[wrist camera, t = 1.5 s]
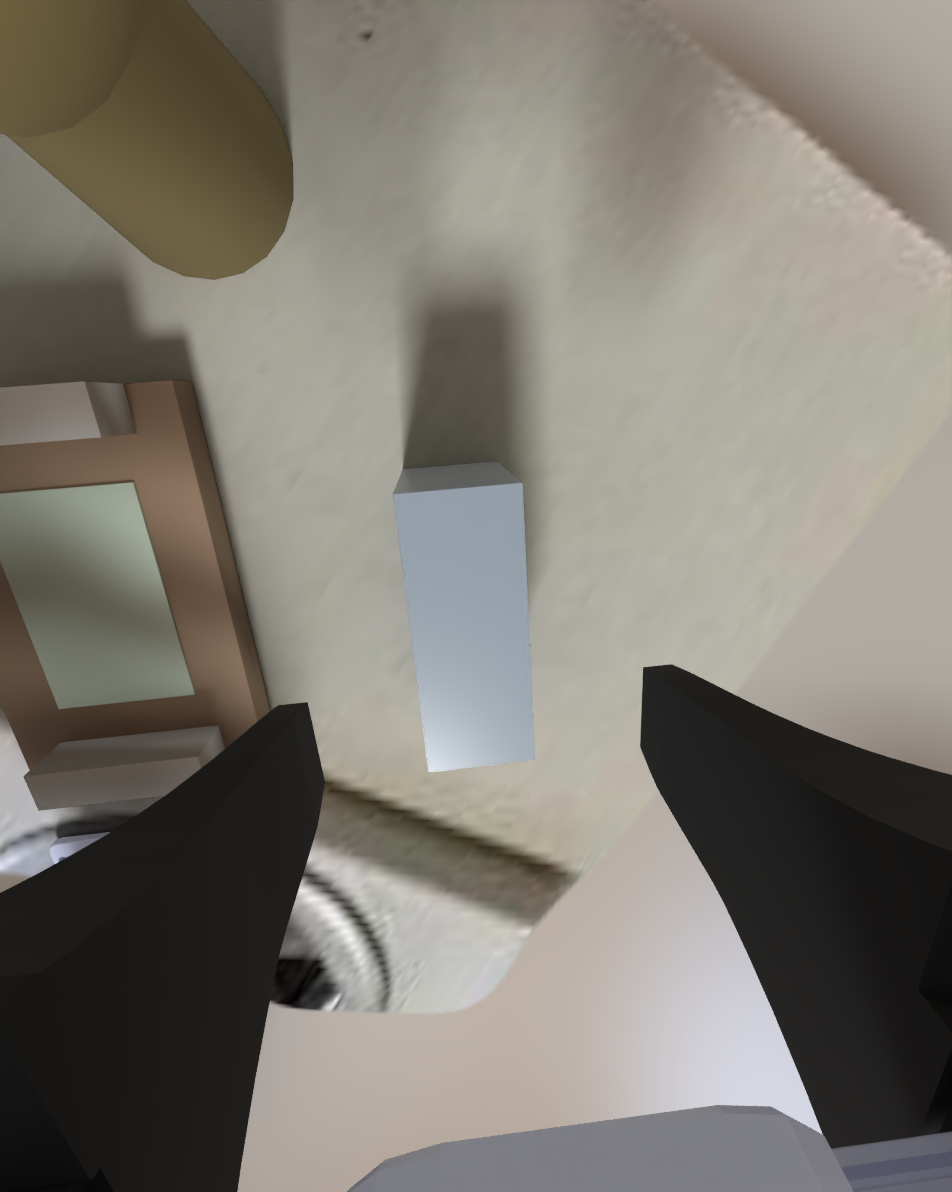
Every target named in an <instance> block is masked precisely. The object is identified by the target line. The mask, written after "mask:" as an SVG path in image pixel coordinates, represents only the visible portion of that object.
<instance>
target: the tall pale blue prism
mask: <svg viewBox="0 0 952 1192" xmlns="http://www.w3.org/2000/svg"><path fill="white" fill-rule="evenodd" d="M393 498H394V506H395V514H396V522H397V530H398V538H399V545H400V553H401V561H402V569H403V577H404V584H405V592H406V600H407V608H408V616H409V624H410V631H411V639H412V647H413V655H414V663H415V670H416V678H417V686H418V694H419V702H420V710H421V717H422V725H423V733H424V741H425V749H426V757H427V764H428V772H436V771H445V770H453V769H462V768H470V767H479V766H487V765H496V764H504V763H513V762H522V761H530V760H535V746H534V723H533V701H532V679H531V657H530V635H529V613H528V590H527V568H526V546H525V524H524V502H523V483H522V482H521V481H520V480H519V479H517V478H516V477H515V476H514V475H513V474H511V473H510V472H509V471H508V470H507V469H505V468H504V467H503V466H502V465H500V464H499V463H498V462H497V461H493V462H481V463H470V464H458V465H447V466H435V467H424V468H412V469H403V470H402V473H401V475H400V478H399V480H398V483H397V485H396V488H395V490H394V493H393Z"/></svg>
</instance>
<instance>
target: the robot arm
mask: <svg viewBox="0 0 952 1192" xmlns="http://www.w3.org/2000/svg"><path fill="white" fill-rule="evenodd" d="M640 747H641V750H642V752H643V755H644V757H645V760H646V762H647V765H648V767H649V770H650V772H651V774H652V777H653V779H654V781H655V783H656V786H657V788H658V790H659V791H660V793H661V795H662V796H663V798H664V800H665V802H666V803H667V805H668V807H669V809H670V810H671V812H672V814H673V815H674V817H675V819H676V821H677V822H678V824H679V826H680V827H681V829H682V831H683V832H684V834H685V836H686V838H687V839H688V841H689V843H690V844H691V846H692V848H693V849H694V851H695V853H696V854H697V856H698V858H699V860H700V861H701V863H702V865H703V866H704V868H705V870H706V871H707V873H708V875H709V876H710V878H711V880H712V882H713V883H714V885H715V887H716V889H717V891H718V893H719V895H720V896H721V898H722V900H723V902H724V904H725V906H726V908H727V910H728V913H729V915H730V917H731V919H732V921H733V923H734V925H735V928H736V929H737V932H738V934H739V936H740V938H741V940H742V943H743V945H744V947H745V949H746V951H747V953H748V955H749V958H750V960H751V962H752V964H753V967H754V969H755V971H756V973H757V976H758V978H759V980H760V983H761V985H762V987H763V990H764V992H765V994H766V996H767V999H768V1001H769V1003H770V1005H771V1007H772V1010H773V1012H774V1015H775V1017H776V1019H777V1022H778V1024H779V1027H780V1029H781V1032H782V1034H783V1036H784V1039H785V1041H786V1044H787V1046H788V1048H789V1050H790V1053H791V1056H792V1058H793V1060H794V1063H795V1065H796V1068H797V1070H798V1072H799V1075H800V1077H801V1080H802V1082H803V1085H804V1087H805V1090H806V1092H807V1095H808V1097H809V1100H810V1103H811V1105H812V1107H813V1110H814V1113H815V1115H816V1118H817V1120H818V1123H819V1126H820V1128H821V1131H822V1133H823V1135H822V1134H820V1133H818V1132H817V1131H815V1130H813V1129H811V1128H809V1127H808V1126H806V1125H804V1124H802V1123H800V1122H798V1121H797V1120H794V1119H793V1118H791V1117H789V1116H787V1115H785V1114H783V1113H782V1112H780V1111H778V1110H776V1109H774V1108H772V1107H766V1106H726V1105H715V1106H708V1107H701V1108H693V1109H686V1110H679V1111H672V1112H664V1113H657V1114H650V1115H642V1116H636V1117H628V1118H621V1119H614V1120H606V1121H599V1122H591V1123H584V1124H577V1125H570V1126H563V1127H555V1128H548V1129H541V1130H534V1131H526V1132H519V1133H511V1134H504V1135H497V1136H490V1137H483V1138H475V1139H468V1140H461V1141H453V1142H446V1143H441V1144H437V1145H434V1146H430V1147H427V1148H423V1149H420V1150H417V1151H413V1152H410V1153H407V1154H403V1155H400V1156H397V1157H393V1158H390V1159H387V1160H385V1161H384V1162H383V1163H381V1164H380V1165H378V1166H377V1167H376V1168H375V1169H373V1170H372V1171H371V1172H370V1173H369V1174H367V1175H366V1176H365V1177H364V1178H362V1179H361V1180H360V1181H359V1182H357V1183H356V1184H355V1185H354V1186H353V1187H351V1188H350V1189H349V1190H348V1191H347V1192H952V775H950V774H946V773H942V772H938V771H934V770H931V769H927V768H924V767H920V766H917V765H914V764H910V763H906V762H903V761H900V760H896V759H893V758H889V757H886V756H883V755H880V754H877V753H874V752H871V751H868V750H864V749H862V748H859V747H856V746H853V745H850V744H848V743H845V742H842V741H840V740H837V739H834V738H831V737H828V736H826V735H823V734H821V733H818V732H815V731H813V730H810V729H808V728H805V727H803V726H801V725H799V724H796V723H794V722H792V721H789V720H787V719H785V718H782V717H780V716H778V715H775V714H773V713H771V712H769V711H767V710H765V709H763V708H760V707H758V706H756V705H754V704H752V703H750V702H748V701H746V700H744V699H742V698H740V697H738V696H736V695H734V694H732V693H730V692H728V691H726V690H724V689H722V688H720V687H718V686H716V685H714V684H712V683H710V682H708V681H706V680H704V679H702V678H700V677H698V676H696V675H694V674H692V673H690V672H688V671H686V670H683V669H681V668H679V667H676V666H674V665H662V666H652V667H643V689H642V715H641V742H640ZM324 783H325V780H324V776H323V771H322V767H321V762H320V758H319V753H318V748H317V744H316V739H315V735H314V730H313V725H312V721H311V716H310V712H309V707H308V703H307V702H306V703H296V704H287V705H278V706H277V707H275V708H274V709H273V710H271V711H270V712H269V713H267V714H266V715H265V716H264V717H262V718H261V719H260V720H259V721H258V722H256V723H255V724H254V725H253V726H252V727H250V728H249V729H248V730H247V731H246V732H245V733H243V734H242V735H241V736H240V737H239V738H237V739H236V740H235V741H234V742H233V743H231V744H230V745H229V746H228V747H227V748H225V749H224V750H223V751H222V752H221V753H219V754H218V755H217V756H216V757H215V758H213V759H212V760H211V761H210V762H209V763H207V764H206V765H205V766H203V767H202V768H201V769H199V770H198V771H197V772H195V773H194V774H193V775H192V776H190V777H189V778H188V779H186V780H185V781H184V782H182V783H181V784H180V785H179V786H177V787H176V788H175V789H173V790H172V791H171V792H169V793H168V794H167V795H165V796H164V797H163V798H161V799H160V800H158V801H157V802H156V803H154V804H153V805H151V806H150V807H148V808H147V809H145V810H144V811H142V812H141V813H139V814H138V815H136V816H135V817H133V818H132V819H130V820H129V821H127V822H126V823H124V824H122V825H121V826H119V827H118V828H116V829H115V830H113V831H112V832H105V833H97V834H88V835H80V836H72V837H63V838H59V839H57V840H56V841H55V842H54V843H53V844H52V845H51V847H50V849H49V851H50V855H51V857H52V859H53V861H54V864H55V865H53V866H51V867H49V868H48V869H46V870H44V871H42V872H40V873H38V874H36V875H35V876H33V877H31V878H29V879H27V880H25V881H23V882H21V883H19V884H17V885H15V886H13V887H11V888H9V889H7V890H5V891H3V892H1V893H0V1192H237V1190H238V1183H239V1176H240V1169H241V1162H242V1155H243V1149H244V1144H245V1137H246V1131H247V1125H248V1118H249V1112H250V1107H251V1100H252V1095H253V1089H254V1082H255V1077H256V1072H257V1066H258V1061H259V1055H260V1049H261V1044H262V1039H263V1033H264V1028H265V1023H266V1017H267V1012H268V1006H269V1002H270V997H271V992H272V987H273V983H274V978H275V973H276V968H277V963H278V958H279V954H280V950H281V946H282V943H283V939H284V935H285V931H286V928H287V925H288V921H289V918H290V915H291V912H292V908H293V905H294V902H295V899H296V895H297V892H298V889H299V886H300V882H301V879H302V876H303V873H304V870H305V866H306V863H307V860H308V856H309V853H310V850H311V846H312V843H313V840H314V836H315V833H316V829H317V826H318V820H319V815H320V809H321V803H322V796H323V790H324Z"/></svg>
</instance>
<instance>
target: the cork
mask: <svg viewBox="0 0 952 1192" xmlns="http://www.w3.org/2000/svg"><path fill="white" fill-rule="evenodd" d="M0 134H6V135H7V136H8V137H9V138H10V139H11V140H12V141H14V142H15V143H16V144H17V145H18V146H19V147H21V148H22V149H23V150H24V151H25V152H26V153H28V154H29V155H30V156H31V157H32V158H33V159H34V160H36V161H37V162H38V163H39V164H40V165H41V166H43V167H44V168H45V169H46V170H47V171H48V172H49V173H51V174H52V175H53V176H54V177H55V178H56V179H58V180H59V181H60V182H61V183H62V184H63V185H64V186H66V187H67V188H68V189H69V190H70V191H71V192H73V193H74V194H75V195H76V196H77V197H78V198H79V199H81V200H82V201H83V202H84V203H85V204H86V205H88V206H89V207H90V208H91V209H92V210H93V211H95V212H96V213H97V214H98V215H99V216H100V217H101V218H103V219H104V220H105V221H106V222H107V223H108V224H110V225H111V226H112V227H113V228H114V229H115V230H116V231H118V232H119V233H120V234H121V235H122V236H123V237H125V238H126V239H127V240H128V241H129V242H130V243H132V244H133V245H134V246H135V247H136V248H137V249H139V250H140V251H141V252H142V253H143V254H145V255H146V256H147V257H148V258H149V259H150V260H152V261H153V262H155V263H157V264H159V265H161V266H163V267H165V268H168V269H170V270H172V271H174V272H176V273H178V274H181V275H183V276H188V277H197V278H205V279H213V280H215V279H220V278H224V277H228V276H232V275H237V274H241V273H244V272H245V271H247V270H248V269H249V268H251V267H252V266H254V265H255V264H257V263H258V262H260V261H261V260H262V259H264V258H265V257H267V256H268V254H269V253H270V251H271V250H272V248H273V247H274V245H275V244H276V242H277V241H278V240H279V238H280V237H281V235H282V234H283V232H284V230H285V227H286V223H287V220H288V216H289V212H290V209H291V205H292V202H293V162H292V158H291V155H290V151H289V147H288V144H287V140H286V137H285V133H284V130H283V126H282V124H281V122H280V120H279V119H278V117H277V115H276V113H275V112H274V110H273V108H272V106H271V105H270V103H269V101H268V100H267V98H266V96H265V94H264V93H263V91H262V90H261V88H260V87H259V86H258V85H257V84H256V82H255V81H254V80H253V79H252V78H251V77H250V75H249V74H248V73H247V72H246V71H245V69H244V68H243V67H242V66H241V65H240V64H239V62H238V61H237V60H236V59H235V58H234V56H233V55H232V54H231V53H230V52H229V51H228V49H227V48H226V47H225V46H224V45H223V43H222V42H221V41H220V40H219V39H218V38H217V36H216V35H215V34H214V33H213V32H212V30H211V29H210V28H209V27H208V26H207V25H206V23H205V22H204V21H203V20H202V19H201V17H200V16H199V15H198V14H197V13H196V12H195V10H194V9H193V8H192V7H191V6H190V4H189V3H188V2H187V1H186V0H0Z"/></svg>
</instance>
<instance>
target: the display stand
mask: <svg viewBox="0 0 952 1192" xmlns="http://www.w3.org/2000/svg"><path fill="white" fill-rule="evenodd" d="M0 703H1V705H2V707H3V710H4V712H5V714H6V716H7V719H8V721H9V723H10V726H11V728H12V730H13V733H14V735H15V737H16V739H17V742H18V744H19V746H20V749H21V751H22V753H23V756H24V758H25V760H26V762H27V765H28V767H29V769H30V771H29V772H28V773H27V774H26V775H25V776H24V779H25V781H26V783H27V785H28V788H29V790H30V792H31V794H32V797H33V799H34V801H35V804H36V806H37V808H38V810H39V811H40V810H48V809H57V808H66V807H74V806H83V805H91V804H100V803H109V802H117V801H126V800H135V799H143V798H152V797H160V796H165V795H167V794H168V793H169V792H171V791H172V790H173V789H175V788H176V787H177V786H179V785H180V784H181V783H182V782H184V781H185V780H186V779H188V778H189V777H190V776H192V775H193V774H194V773H195V772H197V771H198V770H199V769H201V768H202V767H203V766H205V765H206V764H207V763H209V762H210V761H211V760H212V759H213V758H215V757H216V756H217V755H218V754H219V753H221V752H222V751H223V750H224V749H225V748H227V747H228V746H229V745H230V744H231V743H233V742H234V741H235V740H236V739H237V738H239V737H240V736H241V735H242V734H243V733H245V732H246V731H247V730H248V729H249V728H250V727H252V726H253V725H254V724H255V723H256V722H258V721H259V720H260V719H261V718H262V717H264V716H265V715H266V714H267V713H269V712H270V708H269V704H268V699H267V695H266V691H265V687H264V683H263V678H262V674H261V670H260V666H259V662H258V657H257V653H256V649H255V645H254V641H253V637H252V632H251V628H250V624H249V620H248V616H247V611H246V607H245V603H244V599H243V595H242V590H241V586H240V582H239V578H238V574H237V570H236V565H235V561H234V557H233V553H232V549H231V544H230V540H229V536H228V532H227V528H226V523H225V519H224V515H223V511H222V507H221V502H220V498H219V494H218V490H217V486H216V482H215V477H214V473H213V469H212V465H211V461H210V456H209V452H208V448H207V444H206V440H205V435H204V431H203V427H202V423H201V419H200V415H199V410H198V406H197V402H196V398H195V394H194V389H193V385H192V382H187V381H176V380H167V381H154V382H141V383H127V384H118V383H103V382H88V381H81V382H68V383H55V384H41V385H28V386H15V387H2V388H0Z"/></svg>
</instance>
